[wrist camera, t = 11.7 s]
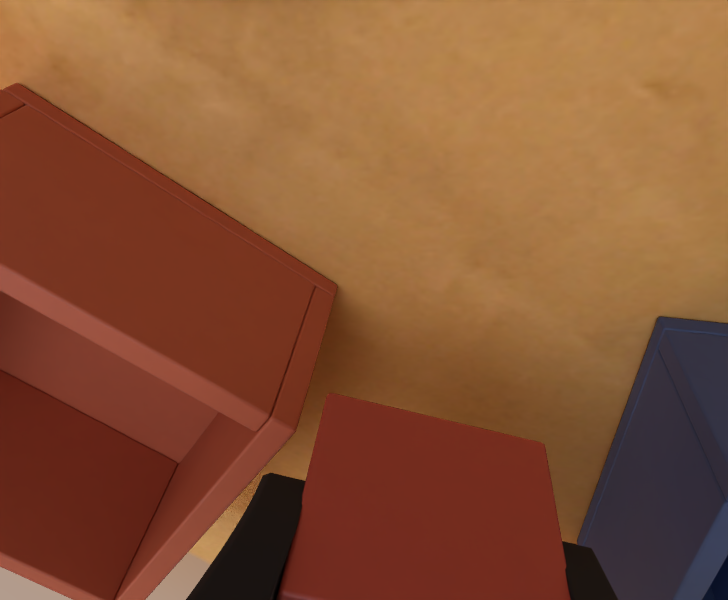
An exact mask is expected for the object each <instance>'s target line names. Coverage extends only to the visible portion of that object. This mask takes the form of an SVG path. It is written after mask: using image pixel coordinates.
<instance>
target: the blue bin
mask: <svg viewBox="0 0 728 600" xmlns="http://www.w3.org/2000/svg"><path fill="white" fill-rule="evenodd" d="M577 543H578V545H580V546H585V547H589V548H592V550H593V552H594V553H595V555H596V557H597V559H598V561H599V563H600V565H601V567H602V569H603V571H604V573H605V575H606V577H607V579H608V580H609V582H610V584H611V586H612V588H613V590H614V592H615V594H616V596H617V598H618V600H715V598H714V596H713V593H712V590H711V588H710V585H711V583H712V582H713V580H714V578H715V576H716V575H717V573H718V571H719V569H720V568H721V566H722V564H723V563H724V561H725V559H726V557H727V556H728V324H725V323H716V322H706V321H697V320H687V319H678V318H668V317H659V318H658V320H657V322H656V325H655V328H654V331H653V333H652V336H651V339H650V342H649V344H648V347H647V350H646V353H645V355H644V358H643V361H642V364H641V366H640V369H639V372H638V375H637V377H636V380H635V383H634V386H633V388H632V391H631V394H630V397H629V399H628V402H627V405H626V408H625V410H624V413H623V416H622V419H621V421H620V424H619V427H618V429H617V432H616V435H615V438H614V440H613V443H612V446H611V449H610V451H609V454H608V457H607V460H606V462H605V465H604V468H603V471H602V473H601V476H600V479H599V482H598V484H597V487H596V490H595V493H594V495H593V498H592V501H591V504H590V506H589V509H588V512H587V515H586V517H585V520H584V523H583V526H582V528H581V531H580V534H579V537H578V539H577Z"/></svg>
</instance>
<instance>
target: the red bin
mask: <svg viewBox="0 0 728 600" xmlns="http://www.w3.org/2000/svg"><path fill="white" fill-rule="evenodd" d="M336 290H337V285H336V284H334V283H333V282H331V281H330V280H328V279H326V278H325V277H323V276H322V275H320V274H319V273H317V272H315V271H314V270H312V269H311V268H309V267H308V266H306V265H304V264H303V263H301V262H300V261H298V260H296V259H295V258H293V257H292V256H290V255H289V254H287V253H285V252H284V251H282V250H281V249H279V248H278V247H276V246H274V245H273V244H271V243H270V242H268V241H266V240H265V239H263V238H262V237H260V236H259V235H257V234H255V233H254V232H252V231H251V230H249V229H247V228H246V227H244V226H243V225H241V224H240V223H238V222H236V221H235V220H233V219H232V218H230V217H229V216H227V215H225V214H224V213H222V212H221V211H219V210H217V209H216V208H214V207H213V206H211V205H210V204H208V203H206V202H205V201H203V200H202V199H200V198H199V197H197V196H195V195H194V194H192V193H191V192H189V191H187V190H186V189H184V188H183V187H181V186H180V185H178V184H176V183H175V182H173V181H172V180H170V179H169V178H167V177H165V176H164V175H162V174H161V173H159V172H157V171H156V170H154V169H153V168H151V167H150V166H148V165H146V164H145V163H143V162H142V161H140V160H138V159H137V158H135V157H134V156H132V155H131V154H129V153H127V152H126V151H124V150H123V149H121V148H120V147H118V146H116V145H115V144H113V143H112V142H110V141H108V140H107V139H105V138H104V137H102V136H101V135H99V134H97V133H96V132H94V131H93V130H91V129H90V128H88V127H86V126H85V125H83V124H82V123H80V122H78V121H77V120H75V119H74V118H72V117H71V116H69V115H67V114H66V113H64V112H63V111H61V110H59V109H58V108H56V107H55V106H53V105H52V104H50V103H48V102H47V101H45V100H44V99H42V98H41V97H39V96H37V95H36V94H34V93H33V92H31V91H29V90H28V89H26V88H25V87H23V86H22V85H20V84H18V83H15V84H13V85H11V86H9V87H6V88H4V89H3V90H0V567H2V568H5V569H7V570H9V571H11V572H13V573H16V574H18V575H20V576H22V577H24V578H27V579H29V580H31V581H33V582H35V583H38V584H40V585H42V586H44V587H46V588H49V589H51V590H53V591H55V592H58V593H60V594H62V595H64V596H66V597H68V598H71V599H73V600H145V599H146V598H147V597H148V596H149V595H150V594H151V593H152V592H153V590H154V589H155V588H156V587H157V586H158V585H159V584H160V583H161V581H162V580H163V579H164V578H165V577H166V576H167V575H168V574H169V573H170V571H171V570H172V569H173V568H174V567H175V566H176V565H177V563H178V562H179V561H180V560H181V559H182V558H183V557H184V556H185V555H186V554H187V552H188V551H189V550H190V549H191V548H192V547H193V546H194V545H195V544H196V542H197V541H198V540H199V539H200V538H201V537H202V536H203V535H204V533H205V532H206V531H207V530H208V529H209V528H210V527H211V526H212V525H213V523H214V522H215V521H216V520H217V519H218V518H219V517H220V516H221V515H222V513H223V512H224V511H225V510H226V509H227V508H228V507H229V506H230V504H231V503H232V502H233V501H234V500H235V499H236V498H237V497H238V496H239V494H240V493H241V492H242V491H243V490H244V489H245V488H246V487H247V485H248V484H249V483H250V482H251V481H252V480H253V479H254V478H255V477H256V475H257V474H258V473H259V472H260V471H261V470H262V469H263V468H264V466H265V465H266V464H267V463H268V462H269V461H270V460H271V459H272V458H273V456H274V455H275V454H276V453H277V452H278V451H279V450H280V449H281V448H282V446H283V445H284V444H285V443H286V442H287V441H288V440H289V439H290V437H291V436H292V435H293V434H294V433H295V432H296V429H297V426H298V422H299V419H300V415H301V412H302V408H303V405H304V402H305V398H306V395H307V391H308V388H309V384H310V381H311V377H312V374H313V370H314V367H315V363H316V360H317V356H318V353H319V349H320V346H321V342H322V339H323V335H324V332H325V328H326V325H327V321H328V318H329V314H330V311H331V307H332V304H333V300H334V297H335V293H336Z"/></svg>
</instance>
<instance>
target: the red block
mask: <svg viewBox="0 0 728 600" xmlns="http://www.w3.org/2000/svg"><path fill="white" fill-rule="evenodd" d="M565 569H566V560H565V555H564V549H563V544H562V538H561V532H560V527H559V521H558V516H557V510H556V505H555V499H554V494H553V488H552V482H551V477H550V471H549V466H548V460H547V455H546V449H545V445H544V444H543V443H541V442H537V441H533V440H529V439H525V438H520V437H516V436H512V435H508V434H504V433H499V432H495V431H491V430H487V429H482V428H478V427H474V426H470V425H466V424H461V423H457V422H453V421H449V420H444V419H440V418H436V417H432V416H428V415H423V414H419V413H415V412H411V411H406V410H402V409H398V408H394V407H389V406H385V405H381V404H377V403H373V402H368V401H364V400H360V399H356V398H351V397H347V396H343V395H339V394H335V393H329V394H328V395H327V397H326V401H325V405H324V409H323V413H322V417H321V421H320V425H319V429H318V433H317V437H316V441H315V445H314V449H313V453H312V457H311V461H310V465H309V469H308V473H307V477H306V481H305V485H304V489H303V493H302V509H301V513H300V517H299V521H298V525H297V529H296V532H295V535H294V538H293V540H292V543H291V546H290V549H289V552H288V555H287V558H286V562H285V566H284V570H283V574H282V578H281V582H280V586H279V590H278V595H277V599H276V600H571V598H570V594H569V589H568V584H567V578H566V572H565Z"/></svg>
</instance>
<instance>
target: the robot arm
mask: <svg viewBox="0 0 728 600" xmlns="http://www.w3.org/2000/svg"><path fill="white" fill-rule="evenodd" d="M304 485H305V481H303V480H299V479H295V478H291V477H286V476H282V475H278V474H274V473H269V474H266V475H264V476H263V477H262V479H261V481H260V483H259V486H258V488H257V490H256V492H255V494H254V496H253V498H252V500H251V502H250V504H249V505H248V507H247V509H246V511H245V513H244V514H243V516H242V518H241V519H240V521H239V523H238V524H237V526H236V528H235V529H234V531H233V532H232V534H231V535H230V537H229V539H228V540H227V542H226V543H225V545H224V546H223V548H222V549H221V551H220V552H219V554H218V555H217V557H216V558H215V560H214V561H213V562H212V564H211V565H210V567H209V568H208V570H207V571H206V572H205V574H204V575H203V577H202V578H201V580H200V581H199V582H198V584H197V585H196V587H195V588H194V589H193V591H192V592H191V594H190V595H189V596H188V598H187V599H186V600H276V599H277V595H278V590H279V586H280V582H281V578H282V574H283V570H284V566H285V562H286V558H287V555H288V552H289V549H290V546H291V543H292V540H293V538H294V535H295V532H296V529H297V525H298V521H299V517H300V513H301V509H302V493H303V489H304ZM562 544H563V549H564V555H565V560H566V569H565V572H566V578H567V584H568V589H569V594H570V598H571V600H618V598H617V596H616V594H615V592H614V590H613V588H612V586H611V584H610V582H609V580H608V579H607V577H606V575H605V573H604V571H603V569H602V567H601V565H600V563H599V561H598V559H597V557H596V555H595V553H594V552H593V550H592V548H589V547H585V546H580V545H576V544H572V543H568V542H563V541H562Z"/></svg>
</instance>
